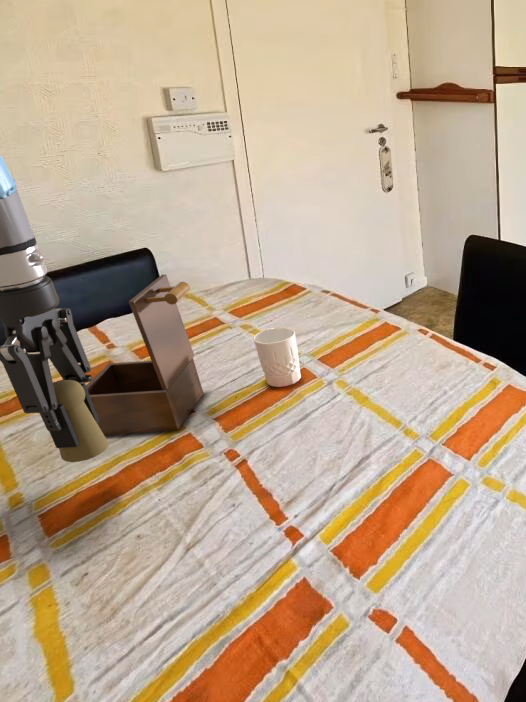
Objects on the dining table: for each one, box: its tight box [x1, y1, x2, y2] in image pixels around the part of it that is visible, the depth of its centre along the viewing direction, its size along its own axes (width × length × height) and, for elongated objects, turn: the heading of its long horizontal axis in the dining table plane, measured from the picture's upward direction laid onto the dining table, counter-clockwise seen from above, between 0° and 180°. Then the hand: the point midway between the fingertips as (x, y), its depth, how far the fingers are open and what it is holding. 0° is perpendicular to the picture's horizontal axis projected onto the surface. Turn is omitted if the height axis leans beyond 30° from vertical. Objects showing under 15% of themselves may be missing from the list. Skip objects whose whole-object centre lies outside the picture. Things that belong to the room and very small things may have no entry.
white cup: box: [253, 326, 302, 388], centre depth 126 cm, size 8×8×10 cm
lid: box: [128, 273, 195, 390], centre depth 110 cm, size 16×14×6 cm
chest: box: [86, 357, 204, 436], centre depth 116 cm, size 16×14×8 cm
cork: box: [53, 379, 110, 463], centre depth 89 cm, size 6×6×11 cm
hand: (78, 434), depth 90 cm, fingers closed on cork, 5 cm apart
